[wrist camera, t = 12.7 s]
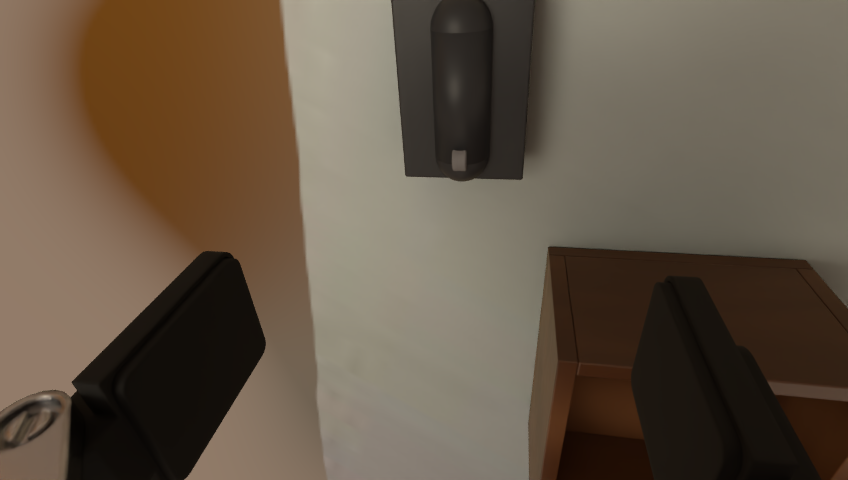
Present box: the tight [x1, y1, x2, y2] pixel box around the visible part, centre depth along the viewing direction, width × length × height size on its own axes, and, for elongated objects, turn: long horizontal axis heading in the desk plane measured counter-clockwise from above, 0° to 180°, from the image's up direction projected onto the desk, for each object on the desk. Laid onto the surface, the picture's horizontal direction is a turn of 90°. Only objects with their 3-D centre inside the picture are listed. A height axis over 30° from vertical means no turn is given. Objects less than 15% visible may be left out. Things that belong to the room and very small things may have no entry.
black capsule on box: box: [391, 0, 535, 181], centre depth 20 cm, size 8×5×4 cm
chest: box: [528, 247, 848, 480], centre depth 25 cm, size 16×13×8 cm
